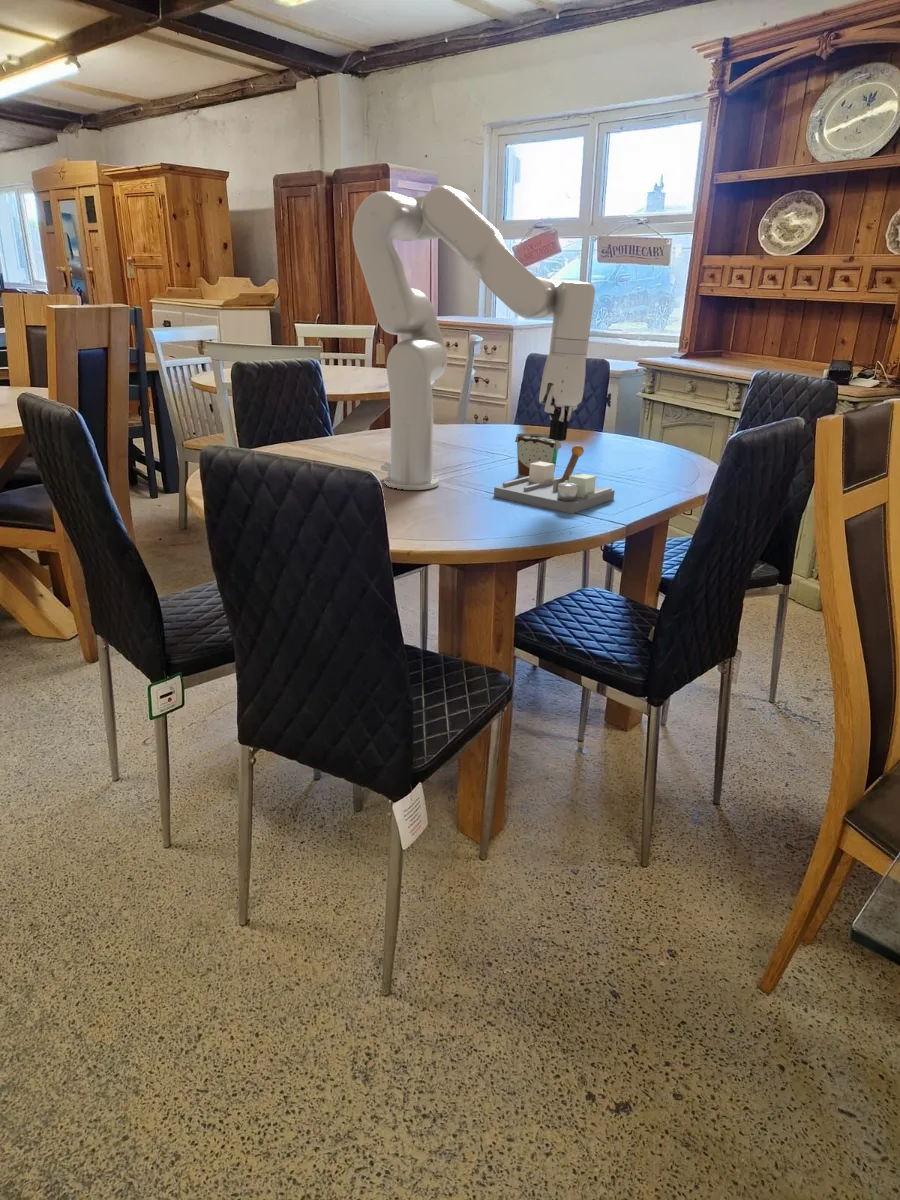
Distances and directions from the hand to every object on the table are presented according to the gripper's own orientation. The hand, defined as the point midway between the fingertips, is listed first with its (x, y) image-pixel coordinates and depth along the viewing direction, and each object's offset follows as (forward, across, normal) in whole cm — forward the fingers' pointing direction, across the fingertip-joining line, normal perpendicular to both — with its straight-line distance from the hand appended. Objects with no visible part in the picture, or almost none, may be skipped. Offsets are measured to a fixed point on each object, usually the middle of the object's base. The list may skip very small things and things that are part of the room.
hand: (557, 439), depth 159 cm
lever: (+10, -2, +2) cm, 10 cm away
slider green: (+11, -2, +6) cm, 13 cm away
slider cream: (+11, -6, -6) cm, 14 cm away
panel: (+13, -2, 0) cm, 13 cm away
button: (+11, +4, +6) cm, 13 cm away
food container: (+14, -18, -14) cm, 26 cm away
